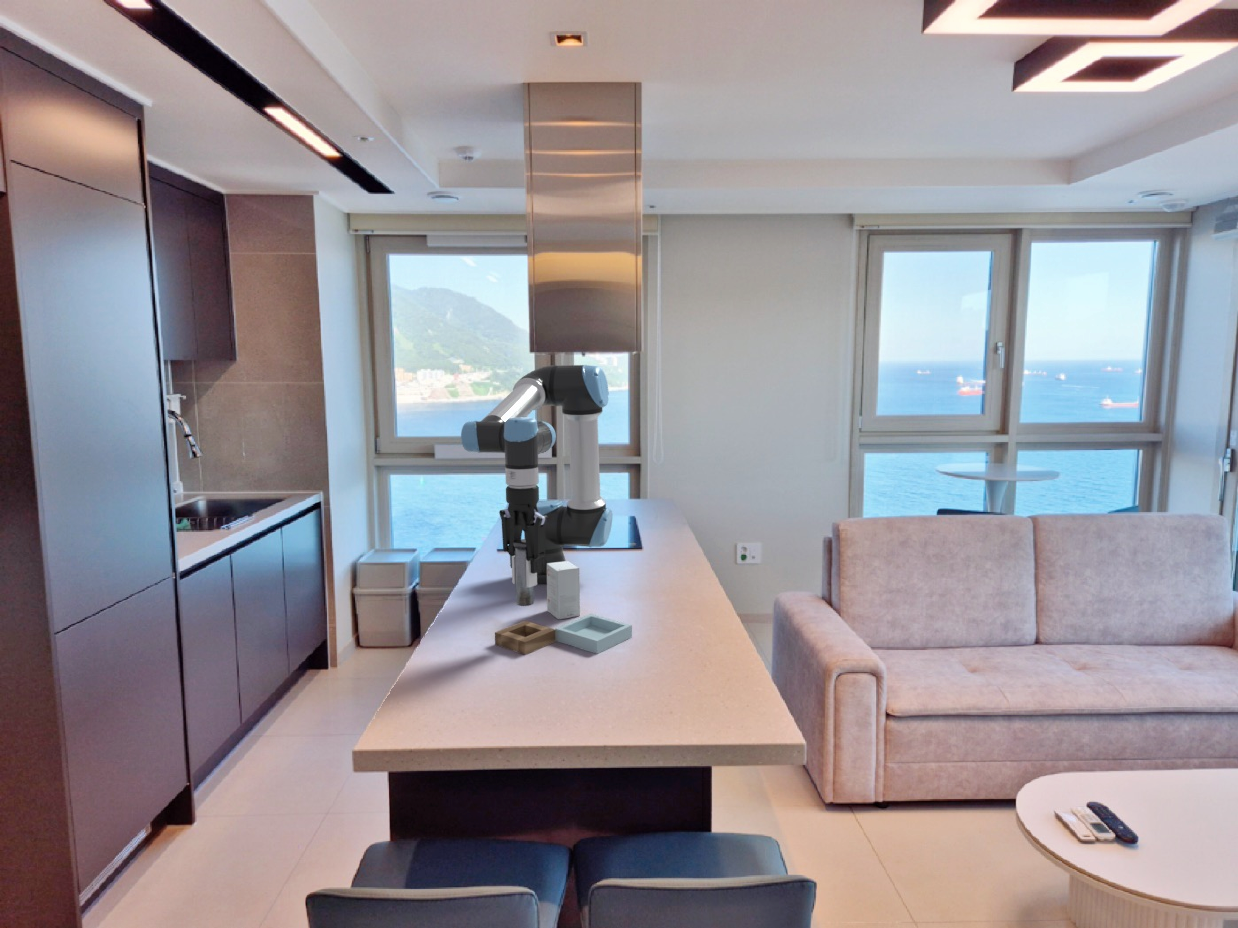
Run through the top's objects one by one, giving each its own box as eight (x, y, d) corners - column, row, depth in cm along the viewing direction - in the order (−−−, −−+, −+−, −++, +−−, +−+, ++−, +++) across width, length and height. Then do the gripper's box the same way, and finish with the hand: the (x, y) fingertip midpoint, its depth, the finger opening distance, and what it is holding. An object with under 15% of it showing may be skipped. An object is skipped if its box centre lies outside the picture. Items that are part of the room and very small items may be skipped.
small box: (580, 616, 196) (580, 567, 194) (557, 620, 193) (557, 570, 191) (568, 607, 203) (568, 560, 201) (546, 610, 200) (545, 563, 199)
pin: (510, 603, 176) (508, 542, 174) (525, 598, 180) (523, 538, 178) (525, 608, 173) (523, 545, 171) (539, 602, 177) (538, 541, 175)
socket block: (495, 644, 177) (494, 632, 176) (525, 632, 184) (525, 620, 184) (525, 654, 171) (525, 642, 170) (555, 641, 178) (555, 629, 178)
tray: (555, 640, 179) (555, 628, 179) (590, 625, 189) (590, 613, 189) (597, 653, 171) (597, 641, 171) (631, 637, 181) (631, 625, 181)
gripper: (484, 483, 175) (487, 581, 178) (537, 492, 164) (539, 595, 168) (508, 479, 180) (510, 573, 184) (560, 487, 170) (562, 586, 174)
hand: (524, 583), depth 176 cm, fingers closed on pin, 4 cm apart
